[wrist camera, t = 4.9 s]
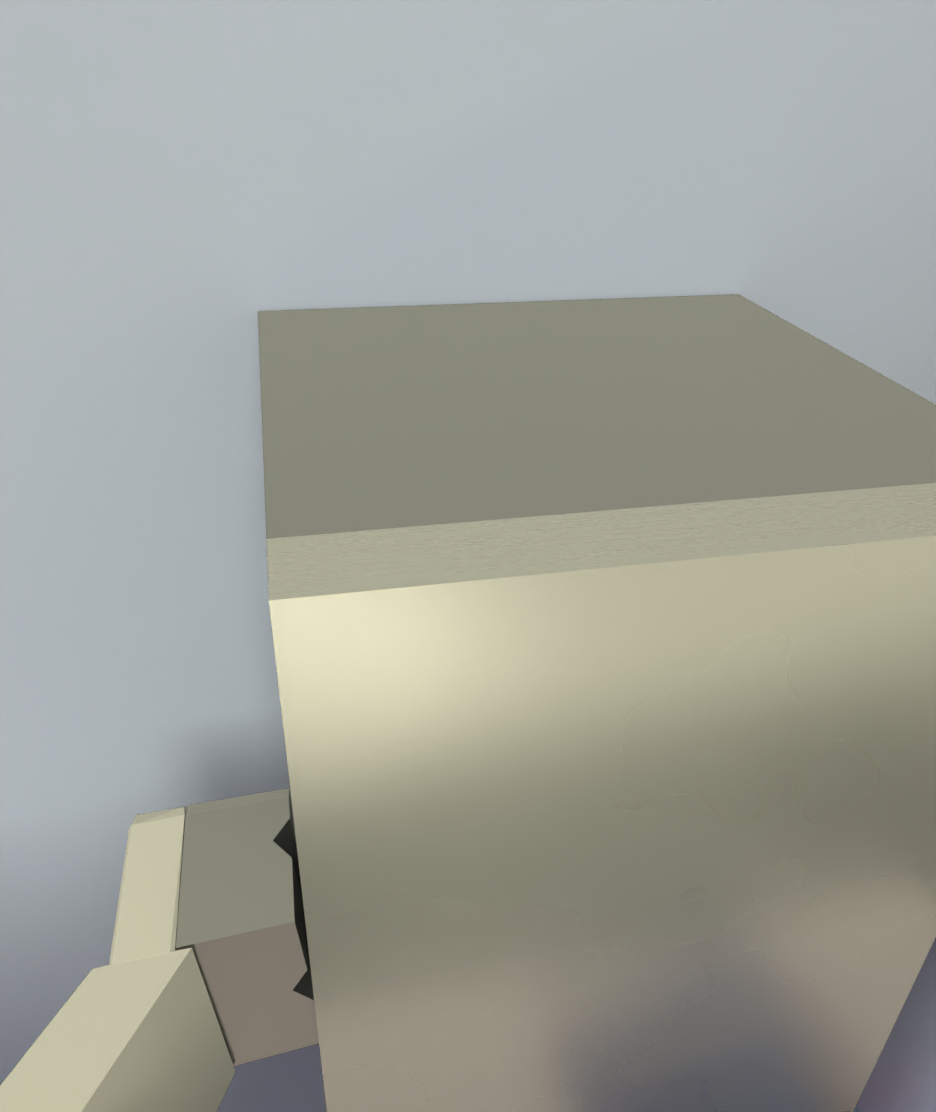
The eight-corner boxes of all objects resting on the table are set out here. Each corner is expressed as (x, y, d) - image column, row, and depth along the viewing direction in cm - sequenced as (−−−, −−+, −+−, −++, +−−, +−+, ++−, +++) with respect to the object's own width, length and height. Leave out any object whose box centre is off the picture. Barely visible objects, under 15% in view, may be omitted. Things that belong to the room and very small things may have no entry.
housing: (738, 293, 9) (1133, 517, 5) (635, 864, 14) (800, 1222, 10) (257, 310, 8) (268, 601, 4) (319, 917, 13) (353, 1339, 9)
